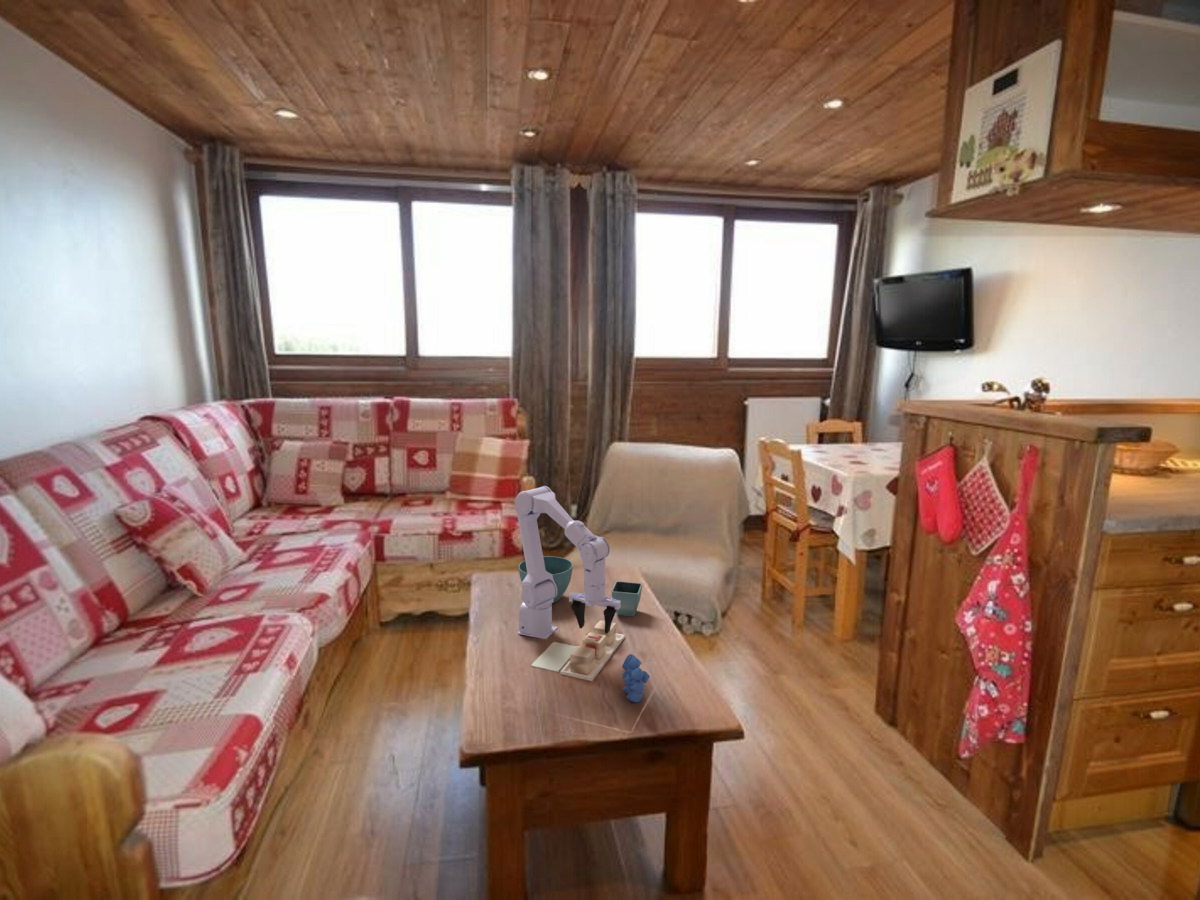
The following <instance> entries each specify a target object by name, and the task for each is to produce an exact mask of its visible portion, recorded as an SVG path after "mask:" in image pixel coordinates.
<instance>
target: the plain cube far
mask: <svg viewBox="0 0 1200 900" xmlns="http://www.w3.org/2000/svg"><path fill="white" fill-rule="evenodd" d="M593 633H596V634H601V635H606V646H609V647H610V646H611V645H612V644H613V642H614V641H615V640H616V633H617V622H613V621H612V623H611V627H610V631H609V632H608V633H605V620H603V619H600V620H599V621H598V622H597V623H596V624H595V626H594V627H593Z"/></svg>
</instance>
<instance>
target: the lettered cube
mask: <svg viewBox="0 0 1200 900" xmlns="http://www.w3.org/2000/svg"><path fill="white" fill-rule="evenodd" d="M582 646H583V647H588V648H593V649H595V660H599V661H600V659H601V658H602V657H603V655H604V654H605V653H606V635H601V634H596V633H594V632H592V631H591V632H588V634H587V635H586V636H585V637H584V638H583V639H582Z"/></svg>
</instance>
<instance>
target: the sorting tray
mask: <svg viewBox="0 0 1200 900" xmlns="http://www.w3.org/2000/svg"><path fill="white" fill-rule="evenodd" d="M625 635H626V634H622V633H617V632H616V640H615V641H614V642H613V644H612V645H611V646H610V647H609V646H606V653H605V654H604V655H603V657H602V658H601V659H600V661H599V660H595V667H594V668H593V670H592V671H591V672H590V674H589V675H588V676H587V675H582V674H578V673H573V672H570V660H568V661H567V662H566V663H565V665H564V666H563V667H562V668H561V669H560V670H559V672H560V675H562V676H566V677H572V678H577V679H581V680H585V681H589V682H593V681H594V679H595V678H596V677H597V676H598V674H599V673H600V672H601V670H602V669H603V668H604V666H605V664H607V662H608V661H609V659H610V658H611V657H612V655H613V654H614V653H615V651H616V650H617V648H618V647H619V646H620V644H622V641H623V640H624V639H625V637H626V636H625Z"/></svg>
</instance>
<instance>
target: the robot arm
mask: <svg viewBox="0 0 1200 900" xmlns="http://www.w3.org/2000/svg"><path fill="white" fill-rule="evenodd" d="M514 503H515V508H516V509H515V510H516V513H517V515H516V517H517V521H518V528H519V532H520V538H521V545H522V550H523V551H522V552H523V554H524V561H525V562H526V567H527V573H528V574H527V576H526V577H525V579H524V580H523V582H521V589H522V590H521V600H522V603H521V605H520V606H519V610H518V631H517V634H518V635H522V636H526V637H532V638H538V639H542V640H547V639H548V638H549V637H550V636H552V634H553V633H555V631H556V630H557V629H558V626H555V625H553V608H552V607H553V604H554V603H553V602H554V600H553V598H555V597H556V595H557V586H556V584H555V582H554V580H553V575H552V574H550V573H549V572H547V571H546V570H545V564H544V558H543V556H544V554H543V548H542V543H541V538H540V531H539V525H538V518H539V517H540V516H541V514H547V515H548V516H549V517H550V518H551V519H552V520H553V521H554V522H555V523H557V524H558V525H559V527H561V528H562V529H564V535H565V537H566V538H567V539H568V540H569V541H570V542H571V544H573V546H575V547H576V549H577V550H578V553H579V557H580V559H581V561H582V567H583V575H584V576H583V577H584V578H583V584H584V585H583V587H584V588H583V592H581V593H580V592H571V593H569V595H568V603H569V602H571V603H572V604H571V605H570V608H571V610H572V611H573V613H574V615H575V617H576V620H577V623H578V628H579V629H583V628H584V627H585V622H586V621H585V620H586V618H585V611H586V606H588V607H593V606H599V607H605V609H604V610H603V613H602V614H603V618H604V621H605V633H608V632H609V631H610V627H611V623H612V622H613V619H614V617H615V614H617V613H616V611H617V610H619V609H620V607H621V601H620V600H616V599H613V598H612V597H610V596H607V595H606V558H607V557H608V556H609V555H610V553H611V551H610V550H611V548H610V545H609V542H608V541H607V540H606V539H605V537H602V536H598V535H595V534H594V533H593V532H591V531H590V529H588V527H587V526H585V524H584V522H583V521H580V520H574V519H573V518H572V517H571V516H570V515H569V514H568V512H567V511H566V510H565V509H564V507H562V505H561V504H560V503H559V502H558V501H557V499H556V493H555V492H553V491H552V489H551V488H550V487H548V486H546V485H542V486H540V487H536V488H532V489H528V490H522V491H520V492H519V493H518V494H517V496H516V497H515V498H514Z"/></svg>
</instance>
